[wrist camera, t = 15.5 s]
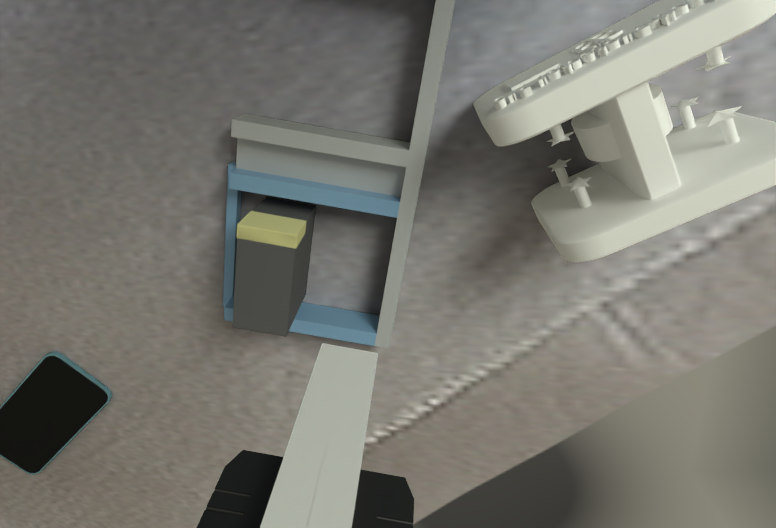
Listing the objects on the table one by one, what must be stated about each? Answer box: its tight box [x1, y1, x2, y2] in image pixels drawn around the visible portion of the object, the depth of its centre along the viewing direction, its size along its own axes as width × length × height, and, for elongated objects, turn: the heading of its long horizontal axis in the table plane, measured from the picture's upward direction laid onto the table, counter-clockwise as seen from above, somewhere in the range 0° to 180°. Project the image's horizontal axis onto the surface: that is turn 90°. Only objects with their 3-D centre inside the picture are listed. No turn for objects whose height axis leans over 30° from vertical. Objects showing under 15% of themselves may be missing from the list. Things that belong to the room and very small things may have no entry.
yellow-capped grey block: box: [233, 197, 316, 337], centre depth 40 cm, size 8×4×7 cm, turn 171°
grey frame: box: [223, 0, 455, 348], centre depth 39 cm, size 27×14×3 cm, turn 171°
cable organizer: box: [473, 0, 776, 263], centre depth 32 cm, size 15×11×12 cm
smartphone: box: [0, 352, 112, 475], centre depth 52 cm, size 7×1×15 cm
